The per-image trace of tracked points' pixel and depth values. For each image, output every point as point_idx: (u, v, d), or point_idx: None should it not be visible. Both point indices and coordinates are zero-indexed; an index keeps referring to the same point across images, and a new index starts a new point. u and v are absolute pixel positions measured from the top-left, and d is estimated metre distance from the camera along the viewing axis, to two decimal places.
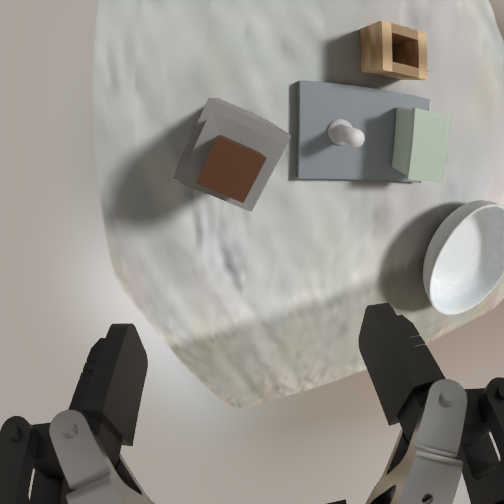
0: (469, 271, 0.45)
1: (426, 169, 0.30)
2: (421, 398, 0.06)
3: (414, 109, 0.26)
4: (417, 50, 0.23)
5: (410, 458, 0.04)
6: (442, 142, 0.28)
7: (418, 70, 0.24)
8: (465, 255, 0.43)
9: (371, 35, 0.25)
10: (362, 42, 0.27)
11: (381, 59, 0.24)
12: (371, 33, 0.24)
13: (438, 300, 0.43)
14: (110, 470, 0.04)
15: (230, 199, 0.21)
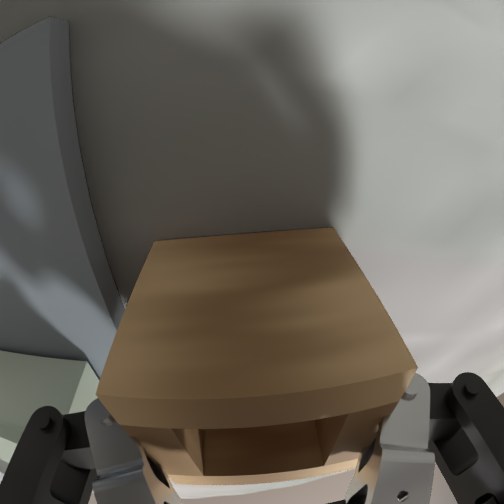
0: None
1: None
2: None
3: None
4: (279, 464, 0.07)
5: (377, 457, 0.05)
6: None
7: (193, 472, 0.07)
8: None
9: (312, 288, 0.07)
10: (276, 238, 0.09)
11: (159, 383, 0.05)
12: (325, 290, 0.07)
13: None
14: (144, 462, 0.05)
15: None
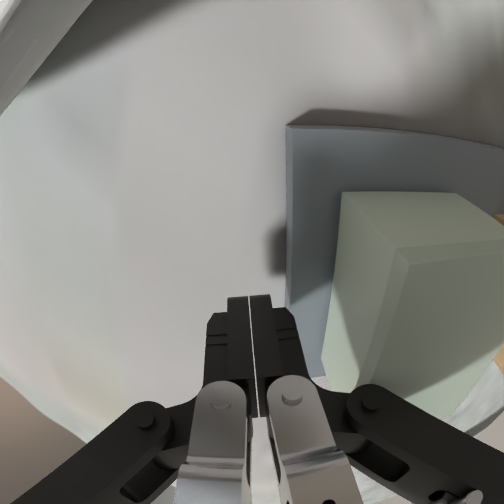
0: None
1: (484, 302, 0.06)
2: None
3: None
4: None
5: (284, 474, 0.05)
6: None
7: None
8: None
9: None
10: None
11: None
12: None
13: None
14: (244, 461, 0.05)
15: None
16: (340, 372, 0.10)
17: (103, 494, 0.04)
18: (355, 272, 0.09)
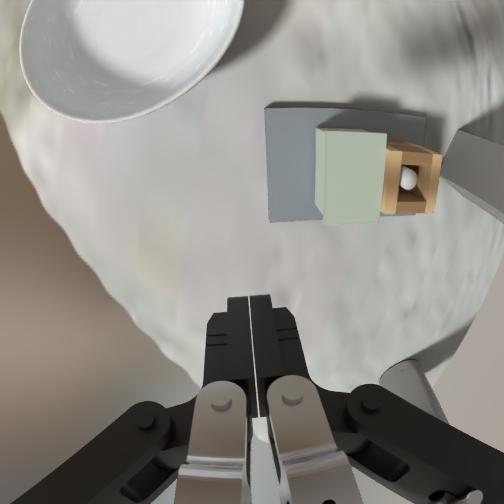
0: None
1: (360, 148, 0.23)
2: None
3: None
4: None
5: (284, 474, 0.05)
6: (337, 189, 0.25)
7: (400, 160, 0.23)
8: (111, 13, 0.19)
9: None
10: None
11: None
12: None
13: None
14: (244, 461, 0.05)
15: None
16: (321, 193, 0.28)
17: (103, 494, 0.04)
18: (320, 149, 0.26)
